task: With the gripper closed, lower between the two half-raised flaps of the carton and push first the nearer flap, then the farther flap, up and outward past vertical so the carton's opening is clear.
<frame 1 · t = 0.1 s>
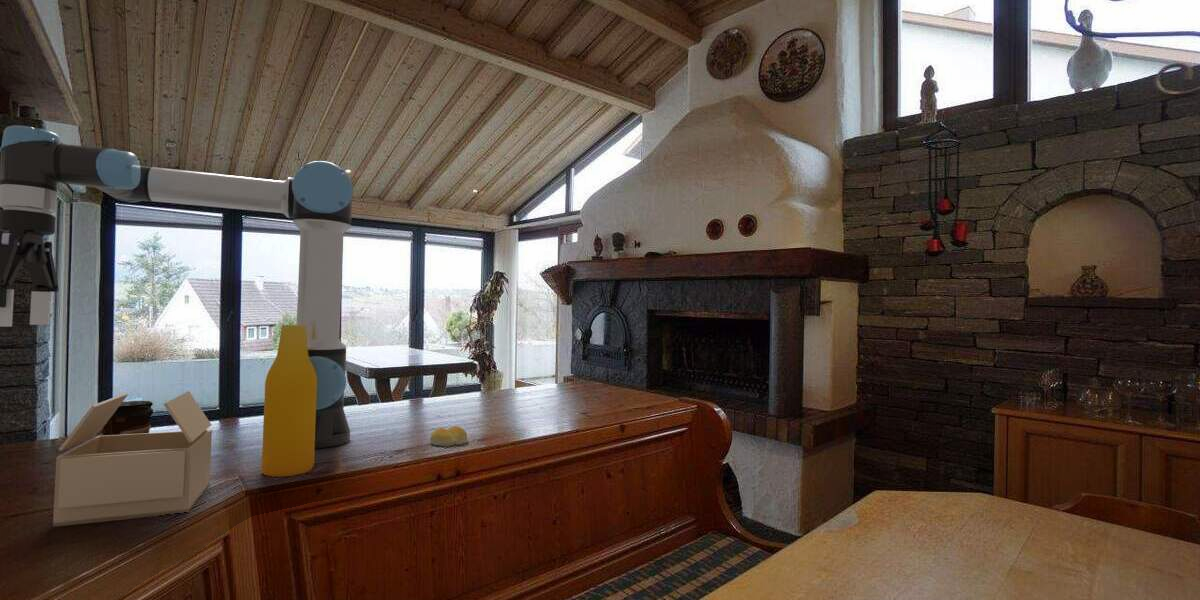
hand: (21, 325, 102), 28 cm above the table, fingers open, 13 cm apart
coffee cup: (124, 470, 108), on the table
carton: (140, 503, 90), on the table
flap 1: (96, 419, 88), point 14 cm above the table, hinge at 60.0°
bread roll: (449, 444, 137), on the table
flap 2: (189, 415, 93), point 14 cm above the table, hinge at 60.0°
beer bottle: (288, 471, 110), on the table, touching arm
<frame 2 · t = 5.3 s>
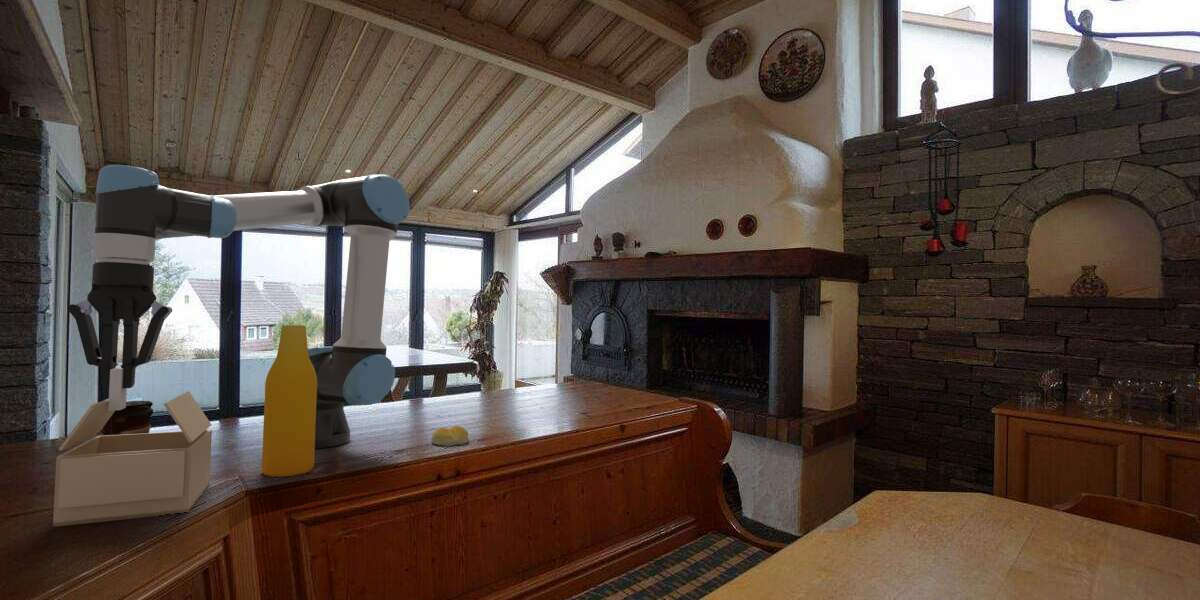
hand: (117, 408, 89), 16 cm above the table, fingers closed
flap 1: (95, 419, 88), point 14 cm above the table, hinge at 61.2°, touching gripper
beer bottle: (288, 471, 110), on the table
everything else where it was.
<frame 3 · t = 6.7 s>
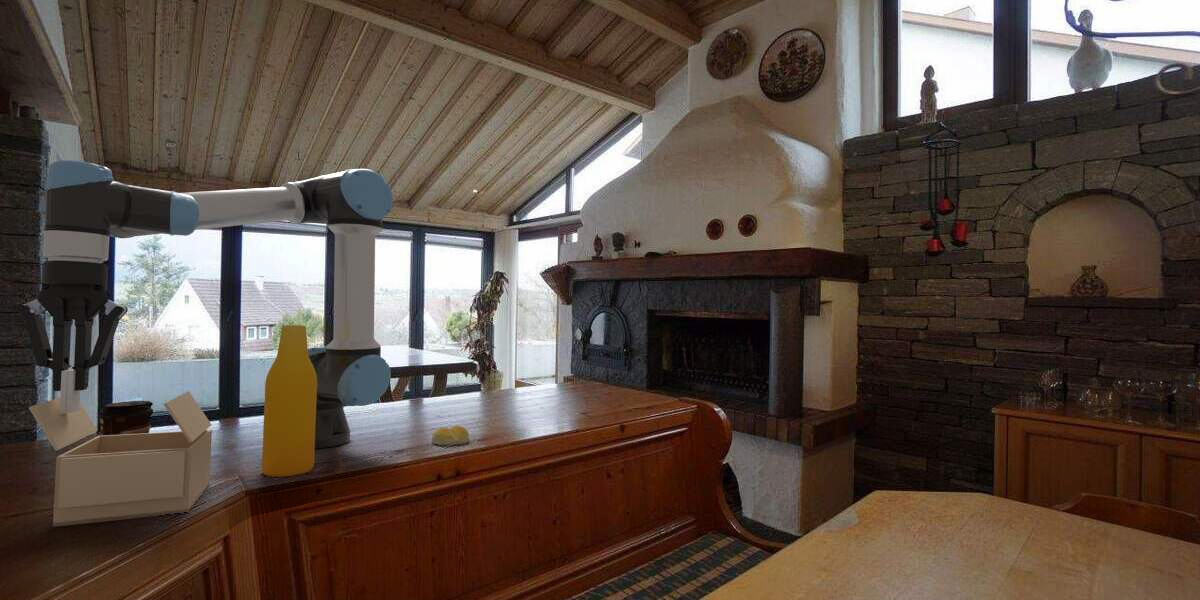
hand: (69, 411, 86), 15 cm above the table, fingers closed
flap 1: (65, 420, 86), point 14 cm above the table, hinge at 116.6°, touching gripper
everything else where it was.
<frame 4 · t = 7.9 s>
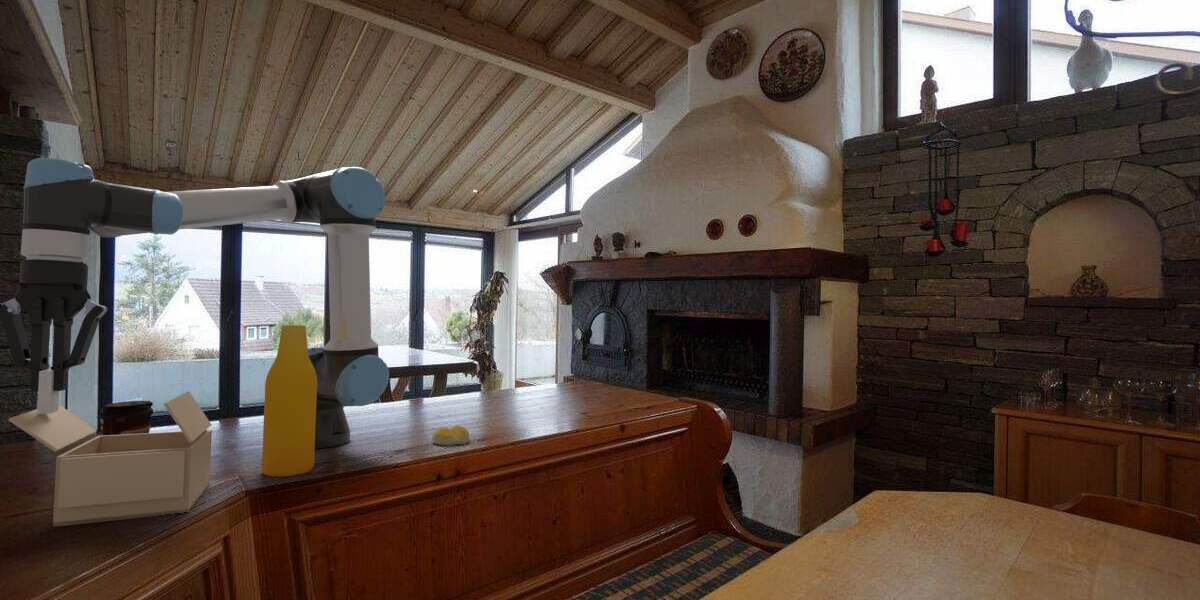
hand: (47, 412, 85), 15 cm above the table, fingers closed
flap 1: (56, 425, 85), point 13 cm above the table, hinge at 136.9°, touching gripper
everything else where it was.
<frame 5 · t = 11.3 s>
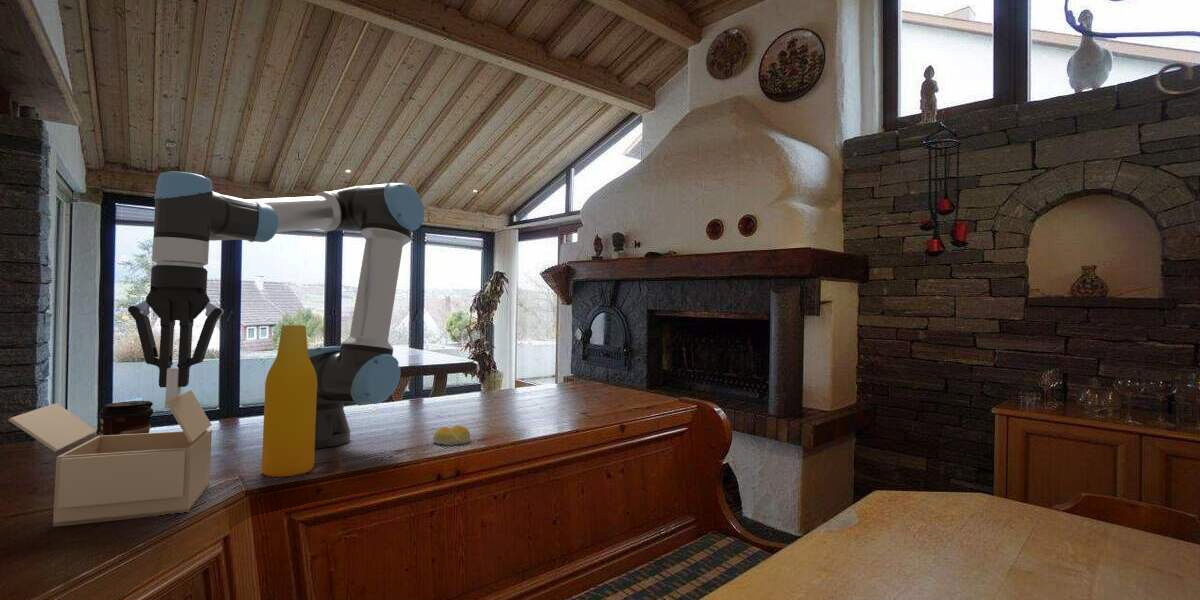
hand: (172, 406, 92), 15 cm above the table, fingers closed
flap 1: (56, 425, 85), point 13 cm above the table, hinge at 137.0°
flap 2: (190, 414, 93), point 14 cm above the table, hinge at 63.1°, touching gripper
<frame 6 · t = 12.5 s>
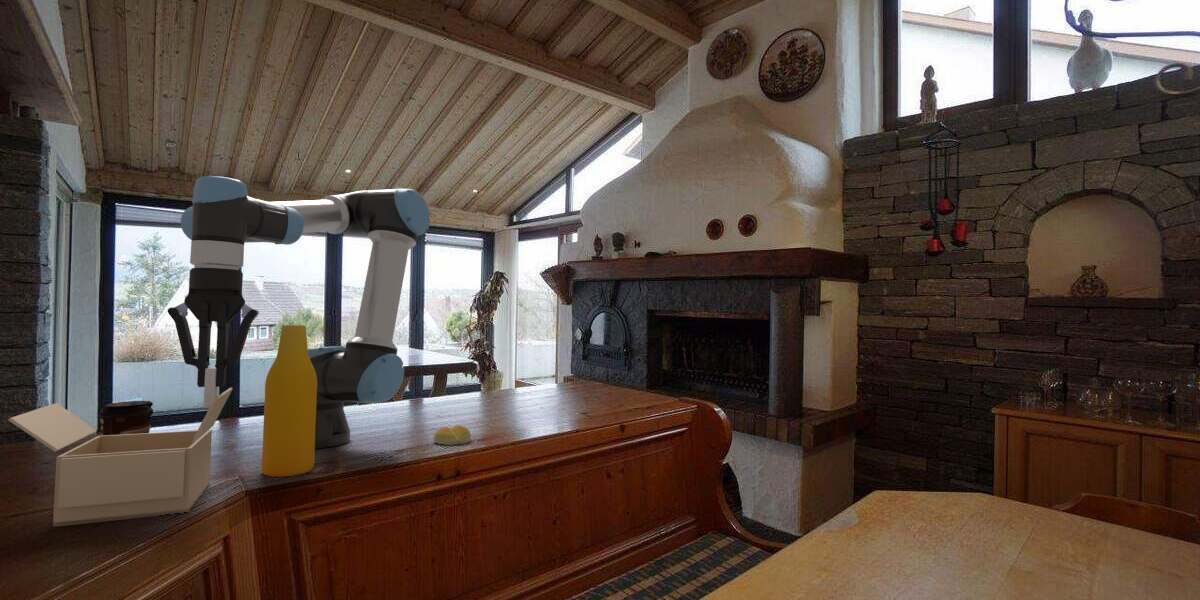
hand: (210, 406, 94), 15 cm above the table, fingers closed
flap 2: (213, 412, 94), point 14 cm above the table, hinge at 112.4°, touching gripper
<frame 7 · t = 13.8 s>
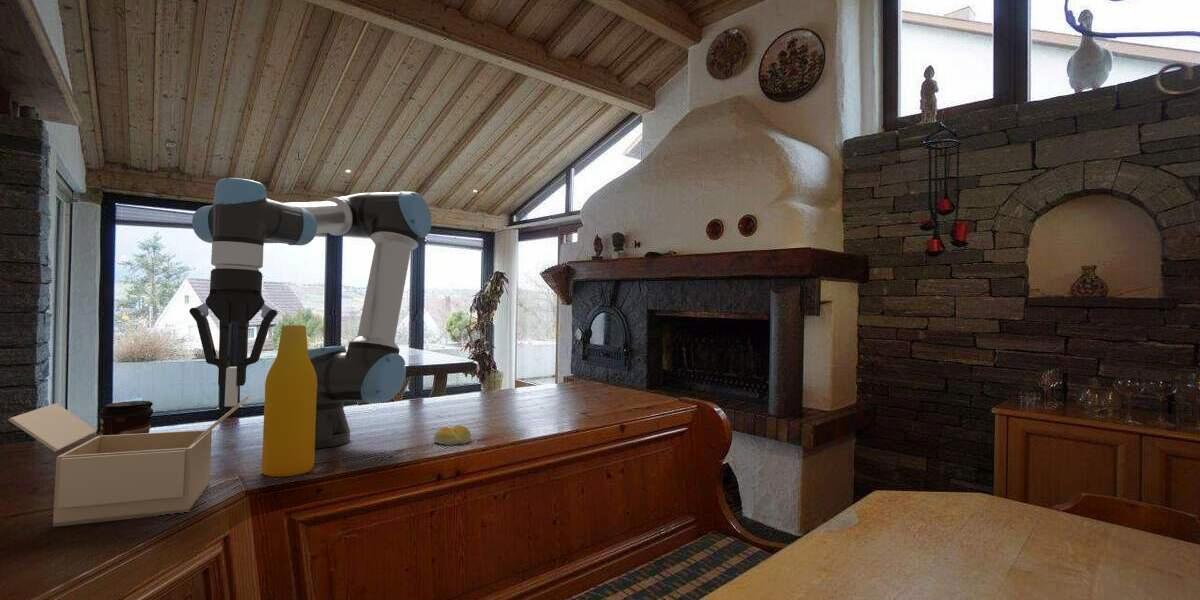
hand: (231, 405, 95), 15 cm above the table, fingers closed
flap 2: (223, 417, 95), point 13 cm above the table, hinge at 136.7°, touching gripper
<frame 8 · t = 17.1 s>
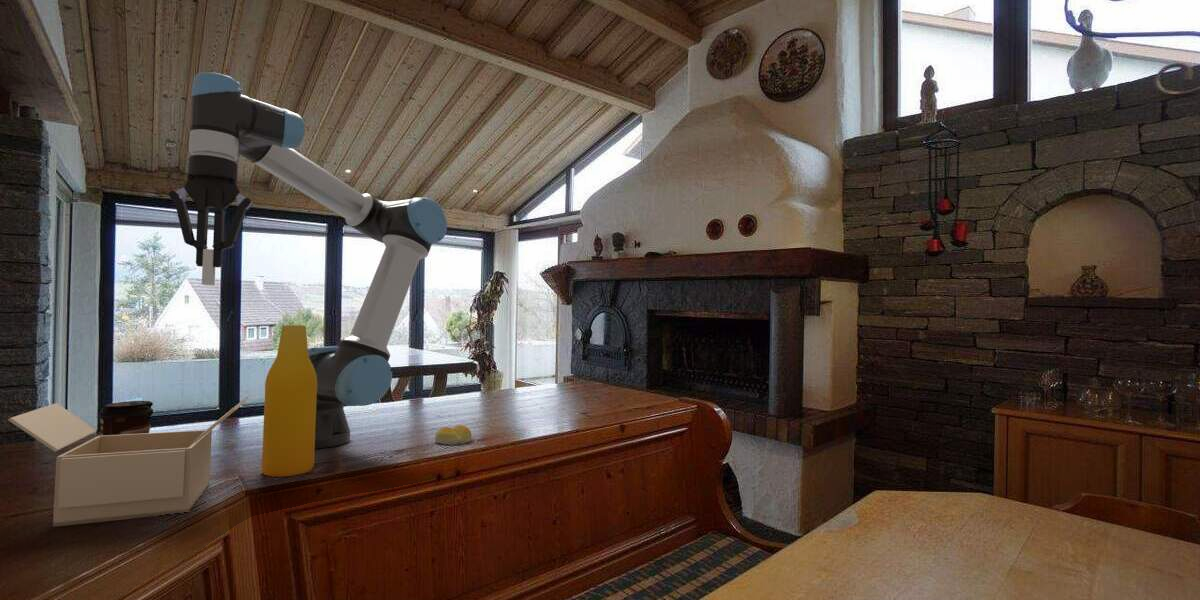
hand: (208, 284, 102), 36 cm above the table, fingers closed
flap 2: (223, 417, 95), point 13 cm above the table, hinge at 136.9°
at the end: flap 1 at +137° (first picture: +60°); flap 2 at +137° (first picture: +60°) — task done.
